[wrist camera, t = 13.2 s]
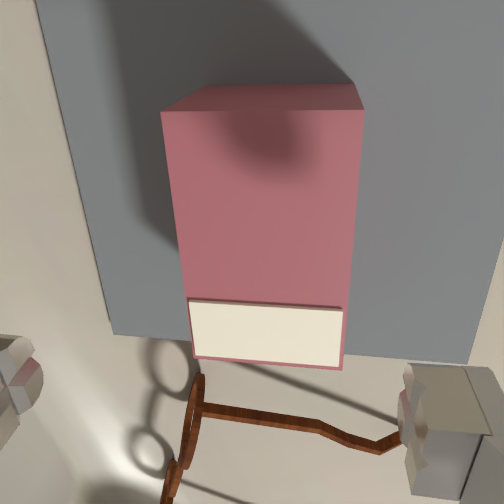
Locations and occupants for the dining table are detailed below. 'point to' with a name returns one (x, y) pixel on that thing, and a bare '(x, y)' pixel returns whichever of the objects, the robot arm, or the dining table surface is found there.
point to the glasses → (256, 418)
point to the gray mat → (372, 151)
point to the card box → (266, 218)
